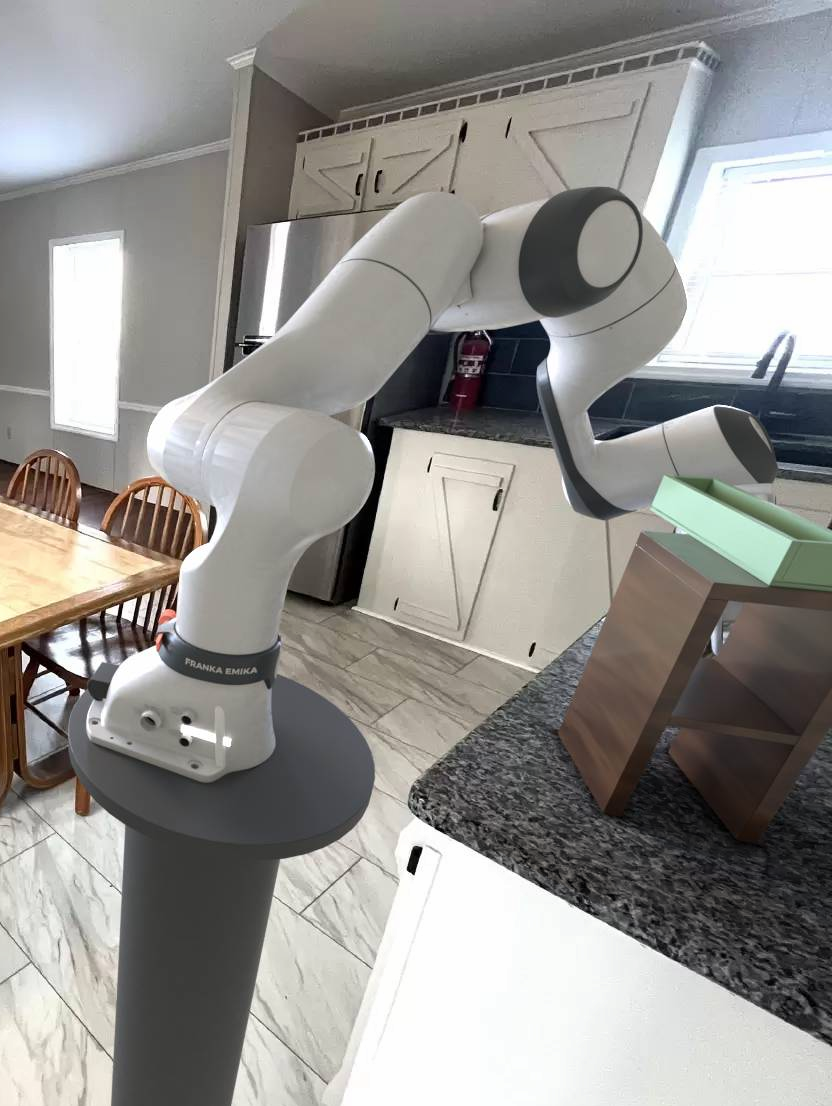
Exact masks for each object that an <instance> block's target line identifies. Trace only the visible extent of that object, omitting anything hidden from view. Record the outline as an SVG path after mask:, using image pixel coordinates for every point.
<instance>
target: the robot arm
mask: <svg viewBox="0 0 832 1106" xmlns="http://www.w3.org/2000/svg"><path fill="white" fill-rule="evenodd" d="M688 296H689V295H688V292H687V287H686V284H685V281H684V277H683V275H682V273H681V270H680V267H679V266H678V263H677V262H676V260H675V257H674V256H673V254H672V252H671V251H670V249H669V248H668V246H667V244H666V243H665V241H664V240H663V238H662V237H661V235H660V233H659V232H658V231H657V230H656V228H655V227H654V226H653V225H652V223H651V222H650V220H648V219H647V217H646V216H645V215H644V214H643V213H642V212H641V211H640V210H639V208H638V207H637V205H636V204H635V203H634V202H633V201H632V200H631V199H630V198H629V197H628V196H626V195H625V194H624V193H623V192H622V191H621V190H618V189H616V188H614V187H610V186H585V187H578V188H571V189H567V190H564V191H561V192H559V193H556V194H555V195H553V196H551V197H548V198H542V199H538V200H534V201H533V200H532V201H528V202H525V203H521V204H518V205H514V206H511V207H507V208H502V209H497V210H495V211H491V212H489V213H485V214H483V215H481V216H480V215H479V213H478V211H477V210H476V208H475V207H474V206H473V204H471V203H470V202H469V201H468V200H466V199H465V198H463V197H462V196H459V195H457V194H454V193H451V192H448V191H440V190H439V191H436V190H435V191H434V190H433V191H426V192H422V193H418V194H415V195H413V196H411V197H409V198H407V199H406V200H404V201H403V202H401V203H399V204H398V205H397V206H396V207H395V208H393V209H392V210H391V211H390V212H388V213H387V214H385V216H383V218H382V219H380V220H379V221H378V222H377V223H376V224H374V226H372V227H371V228H370V230H368V231H367V232H366V233H365V234H364V235H363V236H362V237H361V238H360V239H359V240H358V241H357V242H355V244H354V245H353V246H352V247H351V248H350V249H349V250H348V251H347V252H346V253H345V255H344V256H343V257H342V258H341V259H340V260H339V261H338V262H337V263H336V264H335V265H334V267H333V268H332V270H331V271H330V272H329V273H328V274H327V275H326V276H325V278H324V279H323V280H322V281H321V283H320V284H319V285H318V286H317V287H316V288H315V289H314V291H313V292H312V293H310V295H309V296H308V297H307V299H306V300H305V301H304V302H303V303H302V304H301V306H300V307H299V308H298V309H297V310H296V311H295V312H294V314H293V315H292V316H291V317H290V318H289V319H288V320H287V322H286V323H284V325H283V326H281V327H280V328H279V330H277V332H275V333H274V334H273V335H272V336H271V337H270V338H269V339H267V340H266V341H265V342H264V343H263V344H262V345H259V347H258V348H256V349H255V350H253V352H251V353H250V354H248V355H247V356H246V357H245V358H243V359H242V360H241V361H239V362H237V363H236V364H235V365H234V366H232V367H231V368H229V369H228V370H227V371H225V372H224V373H223V374H221V375H220V376H218V377H217V378H216V379H214V380H213V381H211V382H209V383H208V384H206V385H205V386H203V387H201V388H199V389H198V390H195V391H193V392H191V393H188V394H186V395H184V396H181V397H178V398H175V399H174V400H172V401H170V402H169V403H167V404H166V405H165V406H163V408H161V409H160V411H159V412H158V413H157V414H156V416H155V417H154V419H153V421H152V423H151V425H150V428H149V431H148V433H147V434H148V435H147V439H146V452H147V458H148V461H149V464H150V466H151V468H152V469H153V470H154V472H155V473H156V474H157V475H158V476H159V477H160V478H162V479H163V481H165V482H166V483H167V484H168V485H170V486H171V487H172V488H173V489H175V491H178V492H179V493H180V494H182V495H185V496H188V497H189V498H192V499H194V500H197V501H200V502H202V503H205V504H207V505H208V506H209V505H210V506H212V507H215V511H216V523H215V527H214V530H213V534H212V535H211V538H210V540H209V542H207V543H205V544H203V545H201V546H199V547H197V548H195V549H194V550H192V551H191V552H190V553H188V555H187V556H185V558H184V560H183V561H182V563H181V565H180V569H179V579H178V590H177V603H176V611H175V610H173V609H169V608H167V609H164V610H163V611H162V612H161V614H160V617H159V619H158V625H159V626H158V628H157V632H156V638H155V644H154V645H152V646H151V647H149V648H147V649H145V650H142V651H140V652H138V653H135V654H133V655H130V656H129V657H126V659H125V660H124V661H123V662H122V663H121V664H120V665H118V664H114V663H109V662H104V661H102V662H101V663H100V664H99V665H98V667H97V669H96V670H95V671H94V673H93V675H92V676H91V677H90V678H89V679H88V681H87V684H86V686H87V689H88V691H89V693H90V696H92V697H93V698H94V700H93V702H92V704H91V706H90V708H89V711H88V715H87V722H86V731H87V735H88V737H89V739H90V741H92V742H93V743H96V744H98V745H101V746H103V747H106V748H109V749H112V750H114V751H117V752H120V753H123V754H125V755H128V756H131V757H134V758H136V759H139V760H142V761H145V762H147V763H150V764H153V765H156V766H158V767H161V768H164V769H167V770H169V771H172V772H175V773H178V774H180V775H183V776H186V777H189V778H191V779H194V780H197V781H200V782H204V783H209V782H213V781H215V780H217V779H219V778H221V777H222V776H224V775H225V774H227V773H230V772H234V771H240V770H245V769H249V768H252V767H255V766H257V765H259V764H261V763H263V762H264V761H266V760H267V759H268V758H269V757H270V756H271V755H272V753H273V751H274V749H275V745H276V739H275V734H274V730H273V722H272V708H271V695H272V686H273V684H274V681H275V679H276V677H277V674H278V672H279V666H280V661H281V654H282V646H281V645H282V635H281V634H280V632H279V630H280V625H281V620H282V615H283V610H284V604H285V600H286V595H287V590H288V587H289V586H288V585H289V583H290V580H291V576H292V574H293V572H294V570H295V567H296V566H297V564H298V562H299V560H300V559H301V557H302V556H303V555H304V553H305V552H306V551H307V550H308V549H309V547H311V546H312V544H314V543H315V542H316V541H318V540H319V539H321V538H323V537H325V536H328V535H331V534H333V533H335V532H337V531H339V530H340V529H341V528H343V527H344V526H346V525H347V524H348V523H350V521H351V520H353V519H354V518H355V517H356V515H357V514H359V512H360V511H361V509H362V508H363V507H364V505H365V504H366V502H367V500H368V498H369V496H370V494H371V491H372V488H373V485H374V481H375V480H374V479H375V473H376V463H375V455H374V451H373V447H372V444H371V443H370V440H368V438H367V436H366V435H365V434H363V432H361V431H359V430H358V429H355V428H354V427H352V426H350V425H349V424H346V423H344V422H342V421H341V420H338V419H335V418H333V417H331V416H334V415H336V414H341V413H343V412H347V411H351V410H352V409H355V408H357V407H359V406H361V405H362V404H364V403H366V402H368V401H369V400H370V399H371V398H372V397H374V396H375V395H376V394H377V393H378V392H379V391H380V390H381V388H383V386H384V385H385V384H386V383H387V382H388V381H389V379H390V378H391V377H392V376H393V374H394V373H395V372H396V371H397V369H399V367H400V366H401V365H402V364H403V362H405V360H406V359H407V358H408V357H409V356H410V354H411V353H412V352H413V351H414V350H415V349H416V347H417V346H418V345H419V344H420V343H421V341H422V340H423V339H424V338H425V337H426V335H432V336H433V335H434V336H435V335H438V336H441V335H446V334H450V333H452V332H453V333H454V332H455V333H456V332H457V333H458V332H474V331H483V330H489V331H490V330H492V331H493V330H499V329H505V328H506V329H507V328H511V327H515V326H520V325H524V324H529V323H534V322H537V321H539V322H540V324H541V326H542V327H543V329H544V330H545V332H546V334H547V336H548V338H549V344H550V346H549V347H550V348H549V352H548V355H547V356H546V357H545V358H544V359H543V360H542V361H541V362H540V364H539V365H538V366H537V369H536V378H535V379H536V390H537V391H536V392H537V397H538V401H539V405H540V409H541V412H542V415H543V419H544V422H545V426H546V429H547V432H548V436H549V438H550V441H551V444H552V447H553V451H554V453H555V456H556V459H557V462H558V466H559V469H560V472H561V486H562V490H563V494H564V496H565V499H566V501H567V502H568V504H569V505H570V507H571V508H572V509H573V511H574V512H575V513H577V514H580V515H582V516H585V517H588V518H592V519H596V520H598V521H604V522H605V521H610V520H612V519H613V520H614V519H615V518H619V517H622V516H624V515H628V514H630V513H635V512H636V511H638V510H641V509H645V508H648V507H651V506H652V503H653V501H654V498H655V496H656V494H657V491H658V489H659V486H660V484H661V481H662V479H663V477H664V475H671V476H690V477H708V478H718V479H720V480H722V481H724V482H726V483H729V484H731V485H733V486H735V487H737V488H740V489H742V490H744V491H746V492H748V493H751V494H753V495H755V496H757V497H759V498H762V499H764V500H766V501H768V502H770V503H773V504H775V505H777V506H779V501H778V497H777V493H776V490H775V486H774V485H773V484H774V482H775V480H776V478H777V476H778V474H779V472H780V469H779V465H778V462H777V458H776V453H775V449H774V445H773V442H772V440H771V437H770V435H769V433H768V431H767V429H766V427H765V426H764V424H763V422H761V420H760V419H759V418H758V417H757V416H756V415H755V414H753V413H751V412H748V411H746V410H743V409H740V408H737V407H733V406H728V405H721V404H716V405H713V406H710V407H706V408H703V409H700V410H697V411H694V412H690V413H686V414H684V415H682V416H681V415H680V416H679V417H676V418H672V419H670V420H667V421H664V422H661V423H659V424H657V425H653V426H650V427H648V428H644V429H642V430H639V431H636V432H632V433H629V434H626V435H623V436H620V437H618V438H614V439H608V440H596V439H595V435H594V432H593V428H592V424H591V421H590V417H589V413H588V410H589V408H591V405H593V404H594V403H595V402H596V401H597V400H598V399H599V398H600V397H601V396H602V395H604V394H605V393H606V392H607V391H609V390H610V389H611V388H613V387H614V386H617V384H619V383H620V382H621V381H624V380H625V379H627V377H629V376H630V375H632V374H634V373H635V372H637V371H639V370H640V369H642V368H643V367H644V366H646V365H647V364H649V363H650V362H651V361H653V359H655V358H656V357H657V356H659V355H660V354H661V352H662V351H664V349H665V348H666V347H667V346H668V345H669V344H670V342H671V341H672V340H673V339H674V338H675V337H676V335H677V333H678V332H679V330H680V329H681V327H682V325H683V323H684V321H685V319H686V317H687V313H688V311H689V305H690V303H689V297H688ZM674 533H678V534H687V533H686V532H684V531H682V530H681V529H679V528H678V527H676V526H675V532H674ZM744 603H745V602H738V601H728V603H727V605H726V607H725V609H724V611H723V613H722V615H721V617H720V619H719V621H718V623H717V625H716V627H715V629H714V631H713V633H712V635H711V643H712V650H713V652H714V654H715V655H717V656H718V654H719V652H720V650H721V648H722V646H723V644H724V642H725V640H726V638H727V636H728V634H729V633H730V631H731V629H732V627H733V625H734V623H735V621H736V619H737V617H738V615H739V613H740V611H741V609H742V607H743V605H744Z"/></svg>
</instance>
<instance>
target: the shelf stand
mask: <svg viewBox="0 0 832 1106" xmlns="http://www.w3.org/2000/svg"><path fill="white" fill-rule="evenodd" d="M728 601H738V602H745V603H744V605H743V607H742V609H741V611H740V613H739V615H738V617H737V619H736V621H735V623H734V625H733V627H732V629H731V631H730V633H729V634H728V636H727V638H726V640H725V642H724V644H723V646H722V648H721V650H720V652H719V654H718V656H717V658H716V660H713V659H706V658H700V657H701V655H702V653H703V651H704V649H705V647H706V645H707V643H708V641H709V639H710V637H711V635H712V633H713V631H714V629H715V627H716V625H717V623H718V621H719V619H720V617H721V615H722V613H723V611H724V609H725V607H726V605H727V603H728ZM667 726H672V727H673V726H674V727H677V728H679V730H678V732H677V734H676V736H675V738H674V740H673V742H672V744H671V745H670V747H669V750H668V752H667V753H668V755H670V757H671V758H672V760H673V761H674V762H675V764H677V766H678V767H679V768H680V770H681V771H682V773H684V775H685V776H686V778H687V779H688V780H689V781H690V782H691V784H692V785H693V786H694V788H695V789H696V790H697V791H698V793H699V794H700V795H701V797H702V798H703V799H704V801H706V803H707V804H708V805H709V807H710V808H711V809H712V811H713V812H714V814H716V816H717V817H718V818H719V819H720V821H721V822H722V823H723V825H724V826H725V827H726V828H727V831H729V832H730V833H731V835H732V836H733V837H734V838H735V840H736V841H739V842H745V843H750V844H757V843H758V842H759V841H760V839H761V838H762V836H763V834H764V833H765V831H766V829H768V826H769V825H770V823H771V822H772V820H773V819H774V817H775V815H776V814H777V813H778V811H779V810H780V808H781V806H782V805H783V803H784V801H785V800H786V799H787V797H788V795H789V794H790V792H791V791H792V789H793V787H794V785H796V783H797V781H798V780H799V778H800V776H801V775H802V774H803V772H804V770H805V769H806V767H807V765H808V764H809V762H810V761H811V759H812V758H813V756H814V754H815V753H816V752H817V750H818V748H819V747H820V746H821V744H822V742H823V741H824V739H825V737H826V736H827V735H828V734H829V733H828V732H829V731H830V730H831V728H832V592H830V591H819V590H809V589H799V588H788V587H778V586H769V585H767V584H766V583H764V582H763V581H761V580H759V579H758V578H756V577H755V576H753V575H752V574H750V573H748V572H747V571H745V570H744V569H742V568H741V567H739V566H737V565H736V564H734V563H733V562H731V561H730V560H728V559H726V558H725V557H723V556H722V555H720V554H719V553H717V552H715V551H714V550H712V549H711V548H709V547H708V546H706V545H704V544H703V543H701V542H700V541H698V540H697V539H695V538H693V537H692V536H690V535H689V534H678V533H675V532H664V531H652V530H640V533H639V535H638V538H637V540H636V543H635V545H634V547H633V549H632V552H631V555H630V557H629V559H628V562H627V564H626V566H625V568H624V571H623V574H622V576H621V579H620V581H619V584H618V586H617V588H616V590H615V593H614V595H613V598H612V601H611V603H610V606H609V608H608V611H607V612H606V615H605V618H604V620H603V622H602V624H601V627H600V630H599V633H598V635H597V637H596V639H595V642H594V644H593V647H592V649H591V652H590V654H589V657H588V659H587V661H586V664H585V667H584V669H583V671H582V673H581V675H580V679H579V681H578V684H577V686H576V688H575V690H574V692H573V696H572V698H571V700H570V703H569V705H568V707H567V710H566V712H565V715H564V718H563V720H562V722H561V725H560V727H559V729H558V732H557V735H558V737H559V738H560V741H561V742H562V744H563V746H564V747H565V749H566V751H567V752H568V754H569V756H570V758H571V759H572V762H573V763H574V765H575V767H576V769H577V770H578V772H579V774H580V775H581V777H582V779H583V782H584V783H585V784H586V786H587V788H588V790H589V792H590V793H591V794H592V796H593V799H594V800H595V802H596V804H597V805H598V807H599V809H600V811H601V813H602V814H605V815H610V816H615V817H622V815H623V813H624V811H625V809H626V807H627V805H628V803H629V801H630V800H631V797H632V796H633V793H634V791H635V789H636V787H637V785H638V783H639V781H640V779H641V777H642V775H643V774H644V771H645V769H646V767H647V766H648V763H649V761H650V759H651V757H652V755H653V753H654V751H655V749H656V747H657V745H658V744H659V741H660V739H661V737H662V735H663V733H664V731H665V729H666V727H667Z"/></svg>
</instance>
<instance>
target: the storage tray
mask: <svg viewBox="0 0 832 1106" xmlns="http://www.w3.org/2000/svg"><path fill="white" fill-rule="evenodd" d="M649 510H650V511H651V512H653V513H654V514H655V515H657V516H659V517H660V518H662V519H664V520H665V521H666V522H668V523H670V524H671V525H673V526H675V528H676V527H678V528H679V529H681V530H682V531H684V532H686V533H687V534H689V535H690V536H692V537H693V538H695V539H697V540H698V541H700V542H701V543H703V544H704V545H706V546H708V547H709V548H711V549H712V550H714V551H715V552H717V553H719V554H720V555H722V556H723V557H725V558H726V559H728V560H730V561H731V562H733V563H734V564H736V565H737V566H739V567H741V568H742V569H744V570H745V571H747V572H748V573H750V574H752V575H753V576H755V577H756V578H758V579H759V580H761V581H763V582H764V583H766V584H767V585H769V586H778V587H788V588H799V589H809V590H819V591H830V592H832V529H830V528H827V527H825V526H823V525H821V524H819V523H816V522H815V521H812V520H810V519H808V518H805V517H804V516H802V515H799V514H797V513H795V512H793V511H790V510H788V509H786V508H784V507H781V506H780V505H778V506H777V505H775V504H773V503H770V502H768V501H766V500H764V499H762V498H759V497H757V496H755V495H753V494H751V493H748V492H746V491H744V490H742V489H740V488H737V487H735V486H733V485H731V484H729V483H726V482H724V481H722V480H720V479H718V478H708V477H690V476H671V475H664V477H663V479H662V481H661V484H660V486H659V489H658V491H657V494H656V496H655V498H654V501H653V503H652V506H650V508H649Z"/></svg>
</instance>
